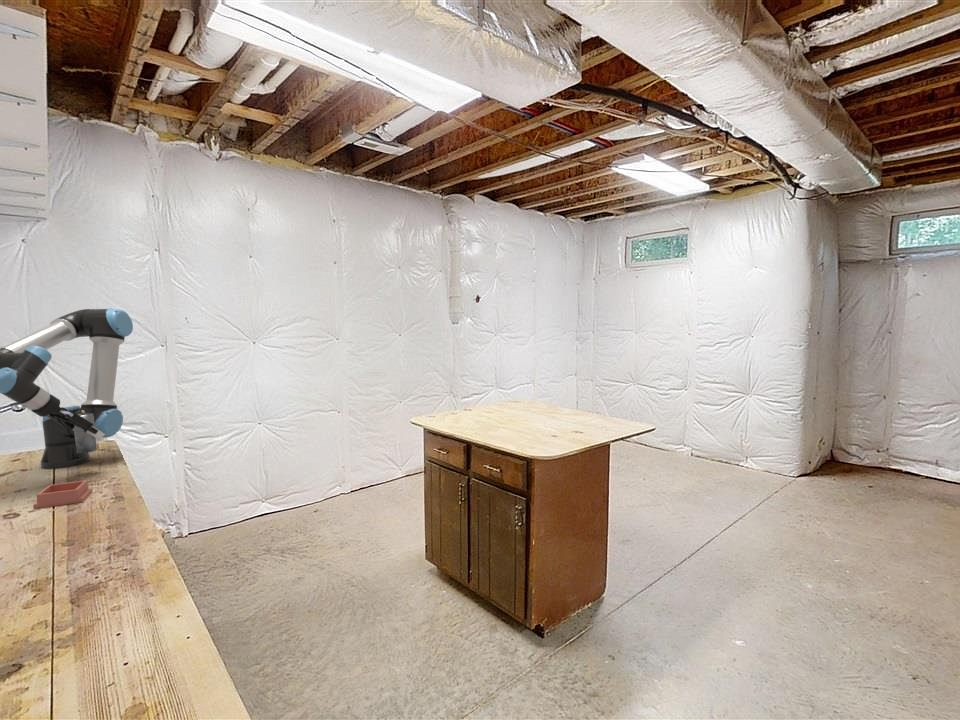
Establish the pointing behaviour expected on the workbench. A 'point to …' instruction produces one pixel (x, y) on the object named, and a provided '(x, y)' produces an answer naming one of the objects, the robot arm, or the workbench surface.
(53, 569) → the workbench surface
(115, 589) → the workbench surface
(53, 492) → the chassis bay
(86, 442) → the motor housing
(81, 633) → the workbench surface
